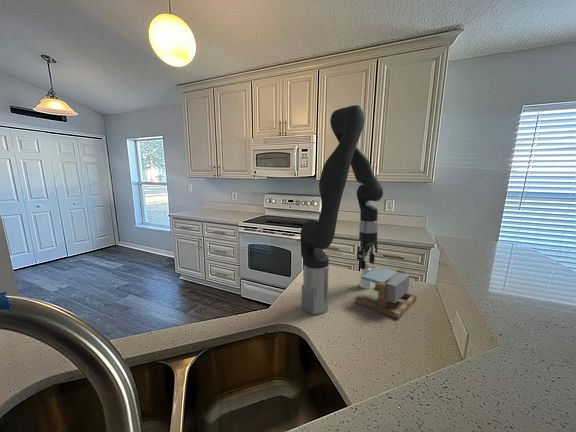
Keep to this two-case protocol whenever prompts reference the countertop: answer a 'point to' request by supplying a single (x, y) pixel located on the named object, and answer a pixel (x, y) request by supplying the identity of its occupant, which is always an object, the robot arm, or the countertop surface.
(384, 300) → the wooden frame stand
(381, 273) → the trapdoor
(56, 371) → the countertop surface
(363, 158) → the robot arm
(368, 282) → the pepper shaker
